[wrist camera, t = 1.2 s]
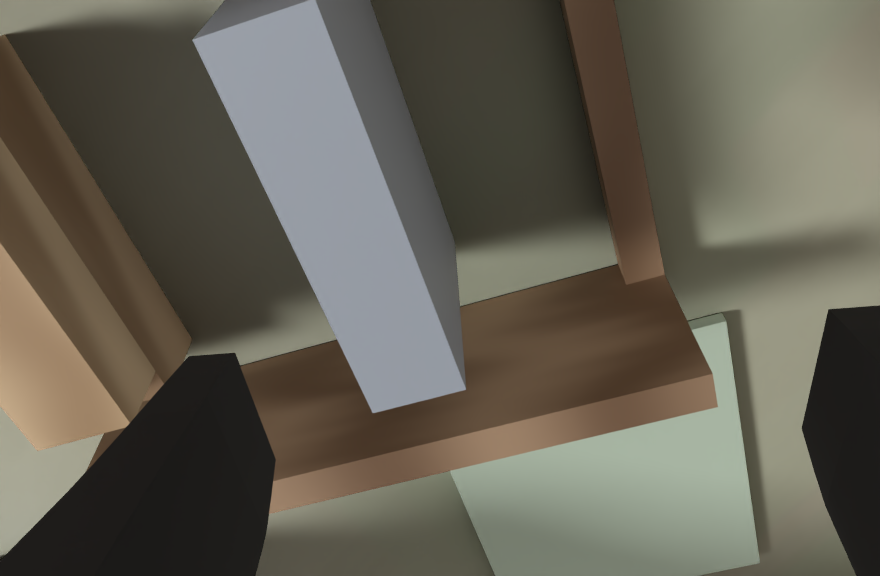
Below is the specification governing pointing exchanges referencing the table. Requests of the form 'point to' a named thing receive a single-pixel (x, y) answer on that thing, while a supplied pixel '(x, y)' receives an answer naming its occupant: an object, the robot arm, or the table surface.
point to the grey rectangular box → (346, 184)
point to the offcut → (70, 285)
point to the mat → (625, 494)
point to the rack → (509, 341)
